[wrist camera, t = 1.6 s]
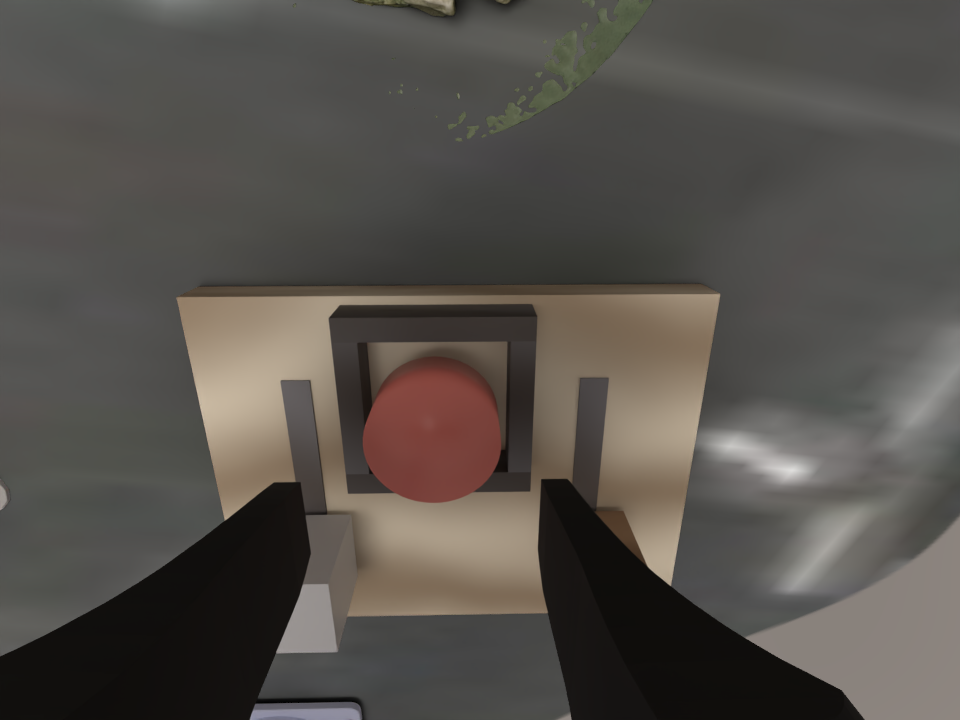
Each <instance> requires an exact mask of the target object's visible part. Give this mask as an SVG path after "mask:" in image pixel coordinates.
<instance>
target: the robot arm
mask: <svg viewBox="0 0 960 720" xmlns="http://www.w3.org/2000/svg"><path fill="white" fill-rule="evenodd" d="M310 555H311V549H310V542H309V535H308V529H307V522H306V515H305V508H304V502H303V495H302V488H301V482H274V483H272V484H271V485H270V486H268V487H267V488H266V489H264V490H263V491H262V492H260V493H259V494H258V495H257V496H255V497H254V498H253V499H252V500H250V501H249V502H248V503H247V504H245V505H244V506H243V507H242V508H240V509H239V510H238V511H237V512H235V513H234V514H233V515H232V516H230V517H229V518H228V519H227V520H225V521H224V522H223V523H221V524H220V525H219V526H218V527H216V528H215V529H214V530H213V531H211V532H210V533H209V534H207V535H206V536H205V537H203V538H202V539H201V540H199V541H198V542H196V543H195V544H194V545H192V546H191V547H190V548H188V549H187V550H185V551H184V552H183V553H181V554H180V555H178V556H177V557H176V558H174V559H173V560H172V561H170V562H169V563H167V564H166V565H165V566H163V567H162V568H160V569H159V570H157V571H156V572H154V573H153V574H151V575H150V576H148V577H147V578H145V579H143V580H142V581H140V582H139V583H137V584H136V585H134V586H132V587H131V588H129V589H127V590H126V591H124V592H122V593H121V594H119V595H118V596H116V597H114V598H113V599H111V600H109V601H107V602H106V603H104V604H102V605H100V606H99V607H97V608H95V609H93V610H91V611H89V612H87V613H86V614H84V615H82V616H80V617H78V618H76V619H74V620H73V621H71V622H69V623H67V624H65V625H63V626H62V627H60V628H58V629H56V630H54V631H52V632H50V633H48V634H46V635H44V636H42V637H40V638H38V639H36V640H34V641H32V642H30V643H28V644H26V645H24V646H22V647H20V648H18V649H16V650H14V651H11V652H9V653H7V654H5V655H3V656H0V720H362V713H361V708H360V706H359V705H358V704H357V703H354V702H319V703H268V704H256V701H257V698H258V696H259V693H260V690H261V688H262V685H263V683H264V681H265V678H266V676H267V673H268V671H269V669H270V666H271V664H272V661H273V659H274V657H275V654H276V652H277V649H278V647H279V645H280V642H281V640H282V637H283V635H284V633H285V630H286V628H287V625H288V623H289V620H290V618H291V616H292V613H293V611H294V608H295V606H296V603H297V601H298V598H299V596H300V593H301V589H302V586H303V582H304V578H305V575H306V571H307V567H308V563H309V559H310ZM538 557H539V566H540V574H541V582H542V589H543V594H544V599H545V603H546V607H547V611H548V616H549V620H550V624H551V628H552V632H553V636H554V641H555V645H556V649H557V653H558V657H559V661H560V665H561V669H562V674H563V678H564V682H565V686H566V691H567V696H568V701H569V706H570V712H571V718H572V720H864V719H863V717H862V716H861V715H860V713H859V712H858V711H857V709H856V708H855V707H854V706H853V704H852V703H851V702H850V701H849V699H848V698H847V697H846V696H845V695H844V693H843V692H842V690H840V689H838V688H836V687H834V686H832V685H830V684H828V683H826V682H824V681H822V680H820V679H819V678H816V677H814V676H812V675H811V674H809V673H807V672H805V671H803V670H801V669H799V668H797V667H795V666H793V665H791V664H789V663H787V662H785V661H783V660H782V659H780V658H778V657H776V656H774V655H772V654H771V653H769V652H768V651H766V650H764V649H762V648H761V647H759V646H757V645H755V644H754V643H752V642H751V641H749V640H747V639H746V638H744V637H742V636H741V635H739V634H737V633H736V632H734V631H733V630H731V629H730V628H728V627H726V626H725V625H723V624H722V623H720V622H719V621H717V620H716V619H715V618H713V617H712V616H710V615H709V614H707V613H706V612H705V611H703V610H702V609H700V608H699V607H697V606H696V605H694V604H693V603H692V602H690V601H689V600H688V599H686V598H685V597H684V596H682V595H681V594H680V593H678V592H677V591H676V590H675V589H674V588H672V587H671V586H670V585H669V584H667V583H666V582H665V581H664V580H663V579H661V578H660V577H659V576H658V575H656V574H655V573H654V572H653V571H652V570H651V569H650V568H648V567H647V566H646V565H645V564H644V563H643V562H642V561H641V560H640V559H639V558H638V557H637V556H636V555H635V554H634V553H633V552H632V551H631V550H630V549H629V548H628V547H627V546H626V545H625V544H624V543H623V542H622V541H621V540H620V539H619V538H618V537H617V536H616V535H615V534H614V533H613V532H612V530H611V529H610V528H609V527H608V526H607V525H606V524H605V523H604V522H603V521H602V519H601V518H600V517H599V516H598V515H597V514H596V513H595V511H594V510H593V509H592V508H591V507H590V505H589V504H588V503H587V502H586V501H585V499H584V498H583V497H582V496H581V494H580V493H579V492H578V491H577V489H576V488H575V487H574V485H573V484H572V483H571V482H570V481H569V480H568V479H541V491H540V512H539V532H538Z"/></svg>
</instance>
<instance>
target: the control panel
mask: <svg viewBox="0 0 960 720" xmlns="http://www.w3.org/2000/svg"><path fill="white" fill-rule="evenodd" d="M719 299H720V294H719V293H718V292H716V291H714V290H712V289H710V288H708V287H707V286H705V285H703V284H580V285H399V286H218V287H197V288H195V289H193V290H191V291H188V292H186V293H184V294H182V295H180V296H178V297H177V302H178V306H179V311H180V315H181V320H182V325H183V329H184V334H185V338H186V343H187V348H188V352H189V357H190V361H191V366H192V371H193V375H194V380H195V384H196V389H197V394H198V398H199V403H200V408H201V412H202V417H203V421H204V426H205V431H206V435H207V440H208V444H209V449H210V454H211V458H212V463H213V467H214V472H215V477H216V481H217V486H218V490H219V495H220V500H221V504H222V509H223V513H224V518H225V520H227V519H228V518H229V517H230V516H232V515H233V514H234V513H235V512H237V511H238V510H239V509H240V508H242V507H243V506H244V505H245V504H247V503H248V502H249V501H250V500H252V499H253V498H254V497H255V496H257V495H258V494H259V493H260V492H262V491H263V490H264V489H266V488H267V487H268V486H270V485H271V484H272V483H274V482H301V488H302V495H303V502H304V508H305V515H351V518H352V527H353V536H354V546H355V555H356V564H357V573H358V577H357V581H356V584H355V588H354V592H353V596H352V599H351V603H350V607H349V611H348V615H347V616H404V615H463V614H522V613H548V611H547V607H546V603H545V599H544V594H543V589H542V582H541V574H540V566H539V557H538V532H539V512H540V491H541V479H568V480H569V481H570V482H571V483H572V484H573V485H574V487H575V488H576V489H577V491H578V492H579V493H580V494H581V496H582V497H583V498H584V499H585V501H586V502H587V503H588V504H589V505H590V507H591V508H592V509H593V510H594V511H624V513H625V516H626V518H627V520H628V523H629V525H630V527H631V530H632V532H633V534H634V536H635V539H636V541H637V543H638V546H639V548H640V550H641V552H642V555H643V557H644V559H645V562H646V564H647V566H648V568H650V569H651V570H652V571H653V572H654V573H655V574H656V575H658V576H659V577H660V578H661V579H663V580H664V581H665V582H666V583H667V584H669V585H670V586H671V582H672V576H673V570H674V564H675V558H676V552H677V546H678V540H679V535H680V529H681V523H682V517H683V511H684V505H685V499H686V493H687V487H688V482H689V476H690V470H691V464H692V458H693V452H694V446H695V440H696V434H697V429H698V423H699V417H700V411H701V405H702V399H703V393H704V387H705V381H706V376H707V370H708V364H709V358H710V352H711V346H712V340H713V334H714V328H715V323H716V317H717V311H718V305H719ZM432 356H437V357H447V358H452V359H455V360H458V361H461V362H463V363H465V364H467V365H469V366H470V367H472V368H474V369H475V370H476V371H477V372H479V373H480V374H481V375H482V376H483V377H484V378H485V380H486V381H487V382H488V384H489V385H490V387H491V389H492V391H493V393H494V395H495V398H496V402H497V408H498V417H499V426H500V435H501V453H500V457H499V461H498V463H497V466H496V468H495V470H494V471H493V473H492V475H491V476H490V477H489V478H488V480H487V481H486V482H485V483H484V484H483V485H482V486H481V487H479V488H478V489H477V490H475V491H474V492H472V493H470V494H469V495H467V496H464V497H462V498H460V499H456V500H453V501H448V502H442V503H425V502H418V501H414V500H410V499H407V498H405V497H402V496H400V495H398V494H396V493H394V492H393V491H391V490H390V489H388V488H387V487H386V486H384V485H383V484H382V483H381V482H380V481H379V480H378V479H377V478H376V476H375V475H374V474H373V472H372V471H371V469H370V467H369V465H368V463H367V461H366V458H365V455H364V450H363V433H364V428H365V425H366V422H367V419H368V416H369V414H370V411H371V409H372V406H373V403H374V401H375V398H376V396H377V393H378V391H379V389H380V387H381V385H382V383H383V382H384V380H385V379H386V378H387V377H388V376H389V374H391V373H392V372H393V371H394V370H395V369H397V368H398V367H400V366H401V365H403V364H405V363H407V362H409V361H412V360H415V359H418V358H423V357H432Z"/></svg>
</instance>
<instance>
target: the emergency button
mask: <svg viewBox="0 0 960 720" xmlns="http://www.w3.org/2000/svg"><path fill="white" fill-rule="evenodd" d="M9 501H10V494H9V489H8V487H7V486H6V485H5V483H4V482H3V481H2V479H1V478H0V510H2V509H3V508H5V507H6V505H7V504H8V502H9Z"/></svg>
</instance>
